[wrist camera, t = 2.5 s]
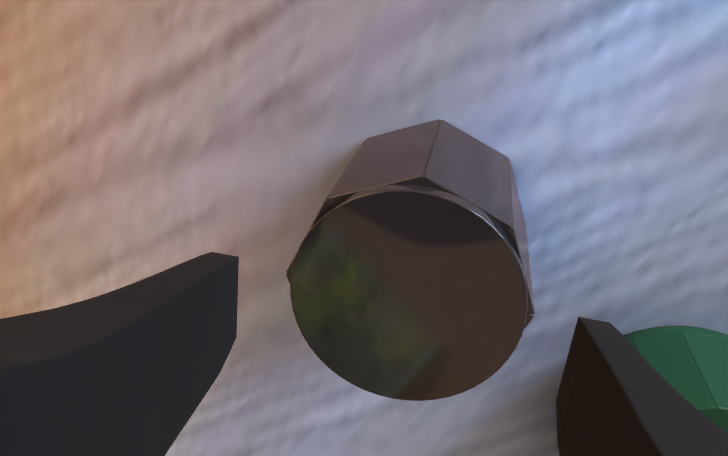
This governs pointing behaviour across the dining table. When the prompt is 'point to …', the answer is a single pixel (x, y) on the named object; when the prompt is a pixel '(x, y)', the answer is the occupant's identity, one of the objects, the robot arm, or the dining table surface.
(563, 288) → the dining table surface
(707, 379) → the bottle
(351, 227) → the faceted brown jar
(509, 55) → the dining table surface
